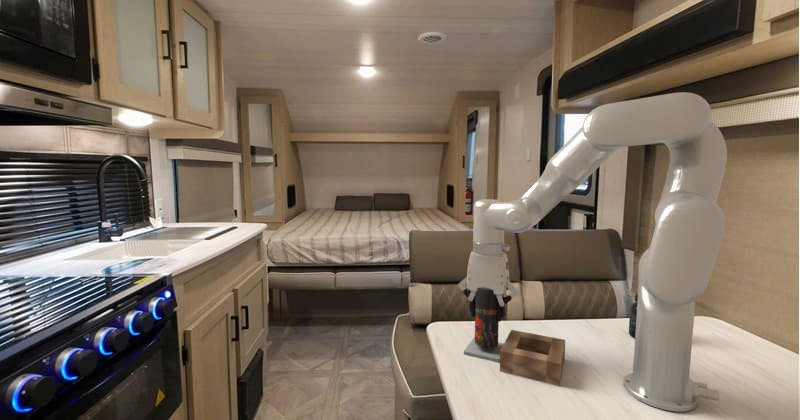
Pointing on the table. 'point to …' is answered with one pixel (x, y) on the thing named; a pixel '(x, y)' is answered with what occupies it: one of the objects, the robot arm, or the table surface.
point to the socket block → (533, 357)
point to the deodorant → (486, 318)
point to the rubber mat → (483, 351)
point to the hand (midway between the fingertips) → (486, 316)
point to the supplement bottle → (633, 317)
